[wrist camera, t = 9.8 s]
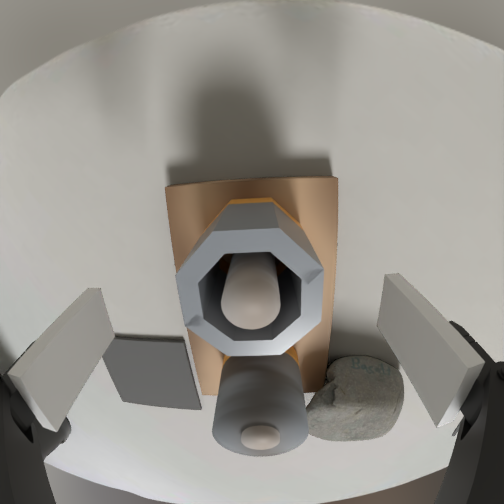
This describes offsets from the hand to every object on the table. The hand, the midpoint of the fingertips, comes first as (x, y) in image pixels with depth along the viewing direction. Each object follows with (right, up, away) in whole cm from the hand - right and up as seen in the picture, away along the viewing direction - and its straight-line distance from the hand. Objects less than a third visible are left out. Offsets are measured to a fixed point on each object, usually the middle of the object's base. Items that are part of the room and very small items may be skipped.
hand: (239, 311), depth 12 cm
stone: (+10, -11, +15) cm, 22 cm away
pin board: (+1, -1, +11) cm, 12 cm away
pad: (-10, -10, +15) cm, 21 cm away
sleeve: (+1, +3, +8) cm, 9 cm away
